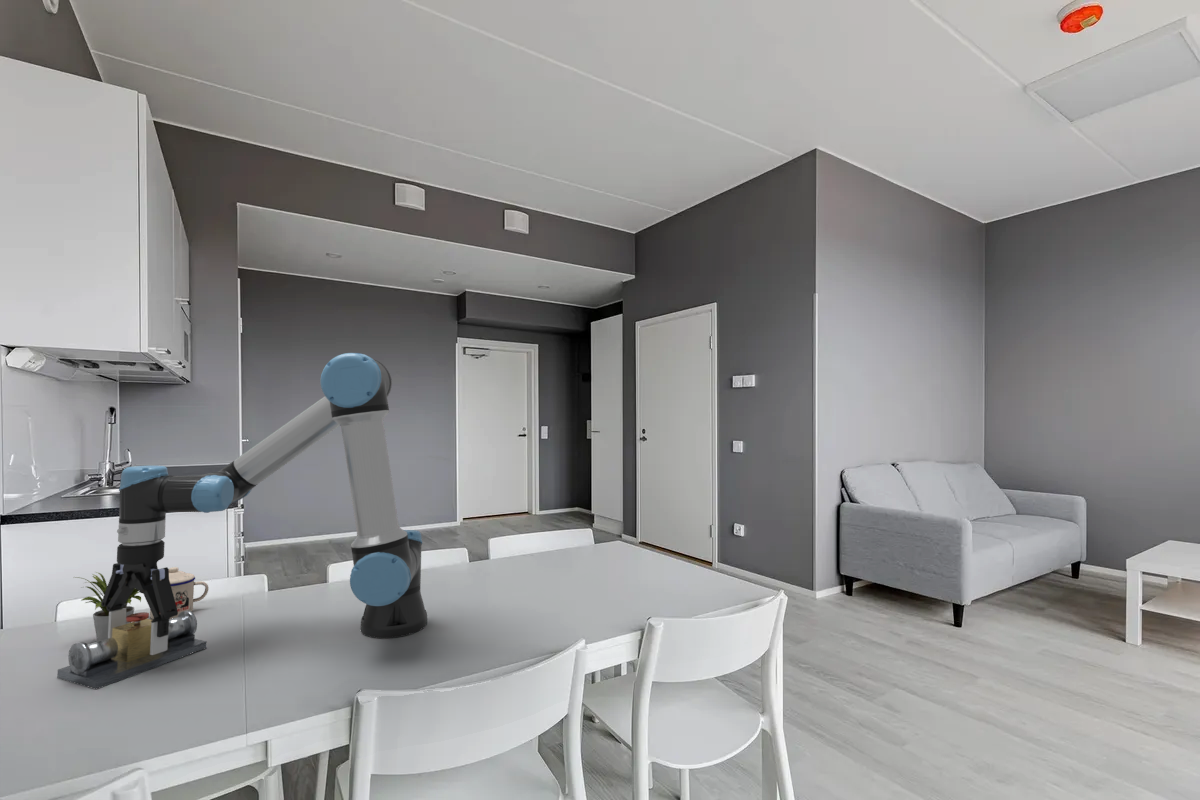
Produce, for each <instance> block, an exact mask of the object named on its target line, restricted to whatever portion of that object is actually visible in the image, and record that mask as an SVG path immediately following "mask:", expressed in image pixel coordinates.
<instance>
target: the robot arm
mask: <svg viewBox="0 0 1200 800" xmlns="http://www.w3.org/2000/svg"><path fill="white" fill-rule="evenodd" d="M392 381H393V380H392V377H391V373H390V371H389V370H388V368H387V367H386V366H385V365H384V364H383V363H382V362H380V361H378V360H376V359H373V358H372V357H371V356H368V355H367V354H364V353H360V352H347V353H342V354H338V355H336V356H334V357H333V358H331V359H330V360H329V361H328V362H327V363H326V365H325V366H324V368H323V370H322V372H321V375H320V381H319V382H320V387H321V391H322V393H323V394H324V395H323V397H321V398H320V399H319V400H317V401H316V402H315V403H314V404H312V405H310V406H309V407H308V408H306V409H305V410H303V411H302V412H301V413H299V414H297V415H296V416H295V417H293V418H292V419H291V420H289V421H288V422H286V423H285V424H283V425H282V426H281V427H279V428H278V429H277V430H275V431H274V432H272V433H271V434H269V435H268V436H266V437H265V438H264V439H262V440H261V441H260V442H258V443H257V444H255V445H254V446H253V447H251V448H250V449H248V450H246V451H245V452H244V453H243V454H241V455H240V456H238V457H237V458H235V459H234V460H233V461H232V462H230V463H228V464H227V465H226V466H224V467H223V468H221V469H220V470H219V471H214V472H213V471H212V472H209V473H205V474H198V475H171V474H169V473H168V471H169V470H168V467H167V466H165V465H136V466H135V465H134V466H127V467H125V468H124V469H123V470H122V472H121V474H120V475H121V477H120V483H119V484H120V486H119V488H118V491H119V513H118V514H119V515H118V529H117V531H116V533H117V536H118V537H117V542H119V544H118V546H117V549H116V551H117V552H116V563H113V565H112V570H111V575H110V578H109V581H108V584H107V589H106V591H105V594H103V596H104V597H103V596H102V599H103V600H102V602H101V605H102V606H103V607H104V606H106V607H107V611H109V624H108V638H110V637H112V629H113V628H114V627H118V626H121V625H125V624H126V608H122V607H125V605H126V601H127V600H128V598H129V596H130V595H131V593H132V592H133V590H134V589H138V590H139V591H138V592H139V593H140V594H143V595H144V597H145V600H146V603H147V605H148V607H149V611H150V610H151V612H152V614H153V616H154V619H151V620H152V621H151V644H150V655H155V654H157V653H160V652H163V651H166V650H167V645H168V632H169V630H168V629H169V628H168V627H169V620H170V617H173V616H176V615H177V614H178V611H177V607H176V603H175V599H174V596H173V592H172V588H171V584H170V581H169V569H170V568H168V567H166V566H165V567H162V568H159V567H158V562H159V561H161V560H162V559H163V558H164V557H165V544H166V543H165V541H164V540H163V539H165V538H166V516H167V513H204V514H207V513H213V512H223V511H226V510H227V509H228V508H229V506H231V505H232V503H235V502H238V501H240V500H242V499H243V498H245V497H247V496H248V495H249V494H250V493H251V492H252V490H253V489H254V488H255V487H257V486H258V485H259V484H260V483H261V482H263V481H265V480H266V479H267V478H269V477H270V476H272V475H273V474H274V473H276V472H277V471H278V470H281V468H283V467H284V466H286V465H287V464H288V463H290V462H291V461H292V460H294V459H295V458H296V457H298V456H299V455H301V454H302V453H304V452H306V450H308V449H309V448H311V447H312V446H314V445H315V444H316V443H318V442H319V441H320V440H322V439H324V438H325V437H326V436H327V435H329V434H330V433H331V432H333V431H335V430H336V429H337V428H338V427H341V435H342V441H343V448H344V456H345V461H346V468H347V475H348V481H349V488H350V495H351V502H352V508H353V509H352V510H353V514H354V515H353V516H354V523H355V529H356V537H355V539H354V540H353V541H352V543H351V544H350V550H351V557H352V562H353V564H352V565H353V567H352V569H351V571H350V572H351V573H350V576H349V584H350V589H351V591H352V593H353V595H354V596H355V598H357V600H358V601H360V602H361V603H364V604H365V607H364V610H363V613H362V617H361V619H360V628H359V629H360V630H361V631H360V633H361V632H362V633H363V634H362V633H361V634H362V635H364V634H365V635H364V636H366V635H367V637H370V636H371V638H376V637H377V639H378V638H379V639H390V638H399V637H403V636H409V635H412V634H414V633H417V632H419V631H422V630H423V629H424V628H425V627H426V626H427V624H428V612H427V610H426V609H425V604H424V599H423V596H422V593H421V584H422V583H421V581H422V580H421V579H422V578H421V577H422V574H421V573H422V545H423V539H422V533H421V532H420V531H419V530H416V529H402V528H401V527H400V525H399V524H400V523H399V519H398V512H397V506H396V498H395V491H394V485H393V484H394V483H393V478H392V473H391V472H392V471H391V465H390V457H389V450H388V443H387V438H386V437H387V436H386V432H385V431H386V430H385V426H384V425H385V424H384V419H386V417H387V415H388V414H389V413H390V409H389V408H390V407H389V401H388V397H389V396H390V393H391V391H392V385H393V382H392ZM152 584H153V585H152ZM109 598H112V599H109ZM126 606H128V604H127V605H126ZM121 608H122V609H121ZM170 610H171V611H170Z"/></svg>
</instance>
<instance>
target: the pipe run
mask: <svg viewBox="0 0 1200 800" xmlns="http://www.w3.org/2000/svg"><path fill="white" fill-rule="evenodd" d="M168 628H169V629H168V630H169V632H168V645H167V650H166V651H163V652H160V653H157V654H155V655H147V656H145V657H142V658H139V659H136V660H133V661H130V662H123V661H119V660H115V659H112V658H115V657H116V655H117V653H118V645H117V642H116V640H115V639H114V638H112V637H110V638H107V639H104V640H101V641H97V640H96V641H94V642H92V643H88V644H87V643H86V642H84V641H79V642H75V643H73V644H72V645H71V646H70V649H69V651H68V664H69V665H67V666H65V667H61V668H58V669H57V679H60V680H64V679H65V681H67V680H68V681H67V682H70V681H71V683H74V682H75V683H74V684H77V683H78V685H80V684H82V685H81V686H83V685H85V687H87V686H89V687H88V688H90V687H92V688H91V689H93V688H95V689H94V690H97V689H96V688H98V689H100V688H103V687H105V686H104V685H106V686H109V685H111V684H113V682H114V683H116V681H117V682H119V681H121V680H125V679H127V678H130V677H132V676H136V675H138V674H141V673H144V672H147V671H149V670H151V669H155V668H157V667H160V666H162V664H163V665H165V664H168V663H171V662H173V661H172V660H174V661H176V660H179V659H181V658H180V657H182V656H184V657H186V656H185V655H187V654H190V653H192V652H195V651H198V650H201V651H203V650H205V649H204V648H206V649H207V640H202V639H197V638H195V634H196V632H197V630H198V629H197V628H198V620H197V617H196V615H195V614H194V612H193V611H192V612H191V611H189V610H187V611H183V612H181V613H180V614H179V615H178V617H176V618H173V619H169V627H168ZM202 649H203V650H202ZM198 652H199V651H198ZM195 653H196V652H195ZM190 655H191V654H190ZM187 656H188V655H187ZM178 658H179V659H178ZM182 658H183V657H182ZM175 659H176V660H175ZM170 661H171V662H170ZM167 662H168V663H167ZM164 663H165V664H164ZM108 684H109V685H108ZM102 686H103V687H102ZM99 687H100V688H99Z"/></svg>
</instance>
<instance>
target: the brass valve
mask: <svg viewBox="0 0 1200 800" xmlns="http://www.w3.org/2000/svg"><path fill="white" fill-rule="evenodd" d="M152 620H153V619H151V618H150V612H147V611H146V612H145V611H143V612H134V613H133V614H131V615H128V616H127V617H126V621H127V622H131V623H128V624H125V625H121V626H118V627H114V628H113V629H112V638H114V639H115V640H116V642H117V645H118V653H117V655H116V657H115V658H112V659H115V660H119V661H123V662H130V661H133V660H136V659H139V658H142V657H145V656H147V655H150V644H151V621H152Z"/></svg>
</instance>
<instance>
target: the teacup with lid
mask: <svg viewBox="0 0 1200 800" xmlns="http://www.w3.org/2000/svg"><path fill="white" fill-rule="evenodd" d="M168 569H169V581H170V584H171V588H172V592H173V596H174V599H175V603H176V607H177V611H178V614H177V615H176V616H173V617H170V619H172V618H176V617H178V615H179V614H180V613H181V612H183V611H187V610H189V611H191V612H193V611H194V603H196V602H200V601H202V600H203V599H204V598H205V597H206V596H207V595H208V592H209V584H208V583H206V582H205V581H201V580H200V581H195V580H196V577H195V574H193V573H190V572H189V573H188V572H185V571H183V570H179V567H177V566H174V567H173V566H172V567H170V568H168ZM152 585H153V584H152ZM198 585H199V586H200V585H201V586H203V587H204V592H203V594H202V595H200V596H199V597H197V598H194V595H195V594H194V592H195V591H194V589H195V588H194V586H198ZM170 611H171V610H170ZM149 619H151V620H153V619H154V616H153V614H152V612H151V610H150V609H149ZM170 619H169V620H170Z"/></svg>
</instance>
